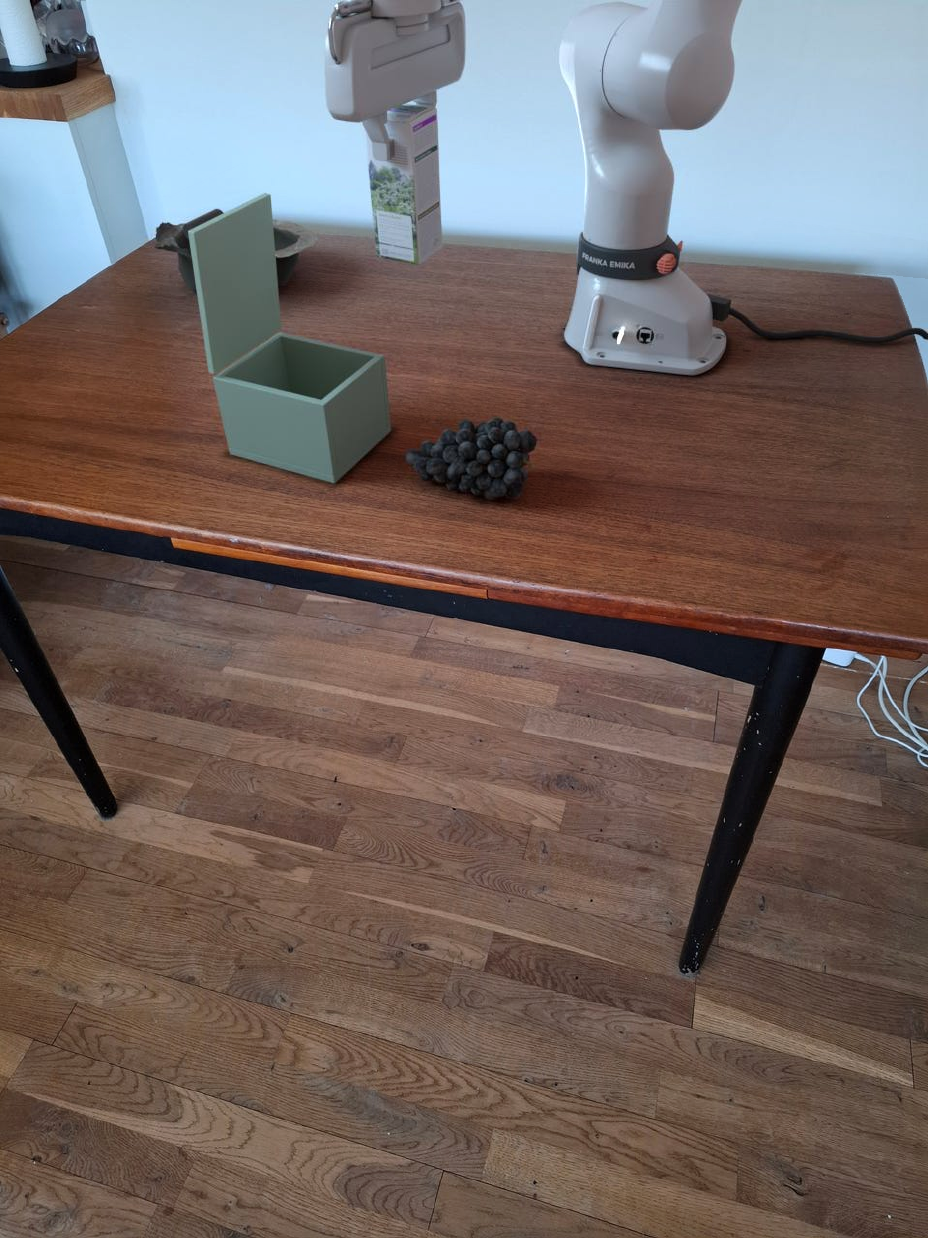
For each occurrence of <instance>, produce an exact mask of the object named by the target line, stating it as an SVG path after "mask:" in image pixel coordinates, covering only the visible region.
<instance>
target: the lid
mask: <svg viewBox="0 0 928 1238" xmlns="http://www.w3.org/2000/svg"><path fill="white" fill-rule="evenodd" d="M272 207H273V205H272V195H271V193H267V192H264V193H262V194H260V195H258V196H256V197H253V198H252V199H250V200H248V201H246V202H244V203H242V204H240V205H237V206H236V207H234V208H232V209H229V210H228V211H226V212H224V211H223V210H221V209H220V208H214V209H212V210H210V211H208V212H205V213H204V214H202V215H200V216H198V217H195V218H194V219H191V220H190V221H187V222H185V223H184V224H183V225H184V226H183V225H182V226H183V232H184V235H185V236H186V237H187V239H189V241H190V248H191V254H192V261H193V268H194V275H195V282H196V289H197V293H196V296H197V302H198V309H199V315H200V321H201V328H202V336H203V342H204V343H203V344H204V350H205V357H206V364H207V370H208V374H211V375H217V374H218V373H220V372H221V371H223V370H224V369H226V368H227V367H229V366H230V365H232V364H233V362H234V363H235V362H236V361H237V360H239V358H242V357H243V356H245V355H246V354H248V353H249V352H251V351H252V350H254V349H255V348H257V347H258V346H260V345H261V344H263V343H264V342H265V341H267V340H268V339H270V338H271V337H273V336H274V335H276V334H277V333H279V331H281V330H282V323H281V322H282V321H281V309H280V297H279V295H280V294H279V287H278V282H277V269H276V256H275V244H274V231H273V219H274V218H273V208H272Z"/></svg>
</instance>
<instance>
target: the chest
mask: <svg viewBox="0 0 928 1238" xmlns="http://www.w3.org/2000/svg"><path fill="white" fill-rule="evenodd" d="M387 377H388V376H387V366H386V355H385V354H382V353H381V354H380V353H375V352H371V351H368V350H362V349H358V348H354V347H349V346H344V345H340V344H335V343H331V342H326V341H321V340H317V339H312V338H307V337H303V336H299V335H293V334H291V333H285V332H281V331H280V332H279V331H278V332H277V333H275V334H274V335H272V336H271V337H269V338H268V339H266V340H265V341H263V342H262V343H260V344H259V345H257V346H256V347H254V348H253V349H252V350H250V351H249V352H247V353H246V354H244V355H243V356H241V357H240V359H239V358H238V359H237V360H235V361H234V363H233V362H232V363H231V364H229V365H228V366H227V367H225V368H224V369H222V370H221V371H219V372H218V373H217V374H215V376H213V377H212V381H213V386H214V389H215V395H216V399H217V402H218V408H219V412H220V417H221V420H222V424H223V429H224V433H225V438H226V443H227V446H228V451H229V455H230V456H231V455H232V456H236V457H239V458H242V459H246V460H250V461H253V462H256V463H261V464H264V465H267V466H270V467H274V468H277V469H282V470H285V471H289V472H292V473H295V474H299V475H302V476H306V477H309V478H313V479H317V480H319V481H324V482H327V483H331V484H336V483H337V482H338V481H339V480H340V479H341V478H342V477H344V476H345V475H346V474H347V473H348V472H349V471H350V470H351V469H352V468H353V467H354V466H355V465H356V464H357V463H358V462H360V461H361V460H362V459H363V458H364V457H365V456H366V455H367V454H368V453H369V452H370V451H372V449H373V448H374V447H375V446H377V445H378V444H379V443H380V442H381V441H382V440H383V439H384V438H385V437H386V436H387V435H389V433H391V432H392V425H391V413H390V401H389V389H388V378H387Z"/></svg>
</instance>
